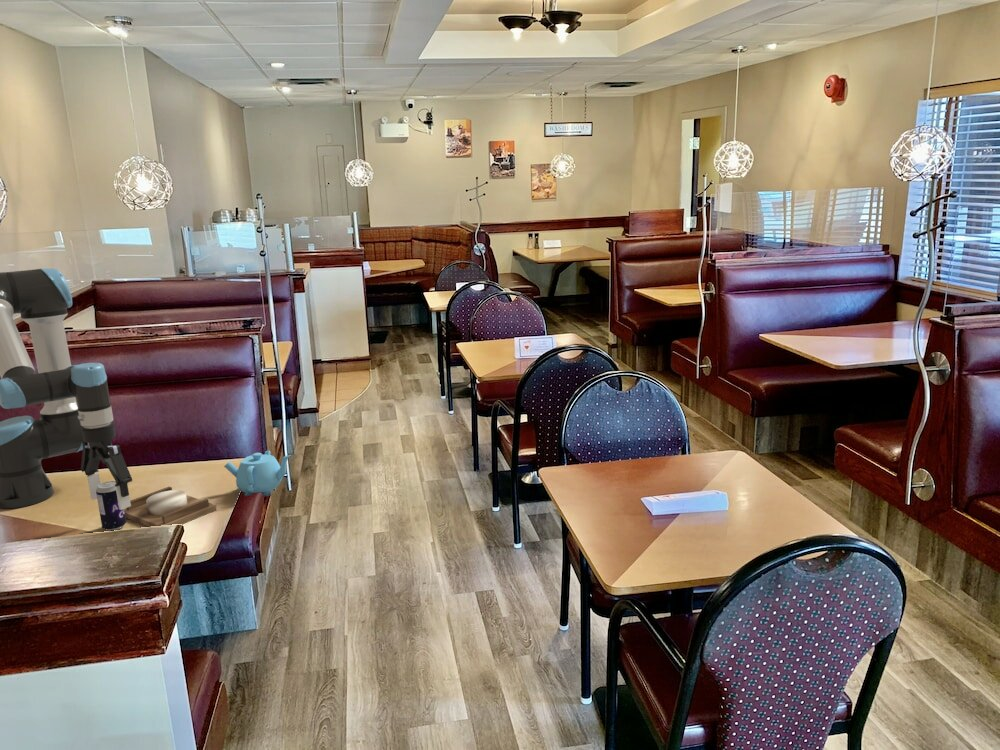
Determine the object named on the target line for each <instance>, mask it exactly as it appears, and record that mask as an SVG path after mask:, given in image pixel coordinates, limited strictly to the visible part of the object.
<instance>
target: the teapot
mask: <svg viewBox="0 0 1000 750" xmlns="http://www.w3.org/2000/svg"><path fill="white" fill-rule="evenodd" d="M271 454H272V453H271V450H266V451H264V454H263V453H261V452H255V453H252V454H251V455H248V456H246V457H244V458H243V459H242V460H241V461H240V462H239V463H240V464H239V465H238V467H237V466H235V465H234V464H233V463H232V462H231V461H228V462H227V463H226V464H225V465H224V468H225V469H226V470H227V471H228V472H230V473H231V474H232V475H233V476H234V478H235V484H236V487H237V488H238V490H239V491H241V492H242V493H244V494H243V496H245V497H249V496H252V495H253V494H258V493H262V496H263V497H264V496H265V497H268V496H271V494H272V493H271V491H274V490H276V489H277V488H278V487H279V485H280V484H281V482H282V480H283V479H284V477H285V476H286V474H287V461H288V459H289V458H290V457H291V456H292V454H288V455H284V456H283V457H282V459H281V461H280V462H281V464H280V463H279V461H278V460H277V458H276V457H275V455H271Z"/></svg>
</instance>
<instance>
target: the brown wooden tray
mask: <svg viewBox="0 0 1000 750" xmlns="http://www.w3.org/2000/svg"><path fill="white" fill-rule="evenodd" d="M130 503H131V506H130V507H128V508H125V509H124V512H125V518H126V519H129V520H130V519H131V520H130V521H133V522H135V521H136V523H139V524H140V525H144V526H146V527H148V526H161V525H172V524H182V525H184V524H186V523H189V522H191V521H193V520H196V519H198V518H200V517H203V516H206V515H209V514H210V513H212V512H216V511H217V505H216V504H215V503H211V502H209V499H208V498H203V499H199V498H196V497H194V496H190V495H188V494H187V493H186V492H185V491H183V490H176V489H174V490H173V488H172V486H167V487H163V488H162V489H158V490H156V491H154V492H150V493H147V494H145V495H141V496H139V497H137V498H134V499H130Z"/></svg>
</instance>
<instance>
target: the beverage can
mask: <svg viewBox="0 0 1000 750" xmlns="http://www.w3.org/2000/svg"><path fill="white" fill-rule="evenodd" d="M100 483H101V484H99V485H98V486H97V490H96V495H97V499H96V500H97V505H98V512H99V518H100V522H101V527H102V529H104V530H106V529H107V530H106V531H107V532H112V531H111V530H115V531H118V530H120V529H122V528H124V525H126V523H127V520H126V519H127V518H125V512H124V509H122V510H120V509H119V504H118V498H117V493H116V487H115V484H116V481H115V480H110V481H104V482H100ZM120 527H122V528H120Z"/></svg>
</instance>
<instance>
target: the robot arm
mask: <svg viewBox="0 0 1000 750" xmlns="http://www.w3.org/2000/svg"><path fill="white" fill-rule="evenodd" d="M71 292H72V291H71V289H70V285H68V281H67V280H66V277H65V276H64V274H63V273H62V272H61V271H60V270H58V269H57V268H36V269H25V270H17V271H16V270H15V271H1V272H0V407H1V408H3V409H5V410H9V409H17V408H18V409H19V408H24V407H29V406H33V405H34V406H35V405H38V404H43V405H44V406H43V407H42V409H41V410H40V411H39V414H40V418H38V419H34V418H33V416H30V415H22V416H15V417H9V418H7V419H4V420H2V421H0V509H18V508H24V507H28V506H32V505H35V504H38V503H41V502H43V501H46V500H48V499H49V498H51V497H52V496H53V495H54V487H53V486H54V485H53V483H52V482H51V480H50V478H49V477H48V475H47V474H46V472H45V471H44V469H43V466H42V460H45V459H49V458H53V457H59V456H63V455H66V454H73V453H79V452H80V451H82V452H81V453H82V455H81V464H80V471H81V472H82V473H84V474H85V476H86V477H87V484H88V488H89V494H90V499H91V500H92V501H94V500H97V495H96V490H97V486H98V485H99V484H101V483H102V482H101V479H100V473H99V472H100V471H99V469H98V468H99V465H100V462H102V464H103V465H106V467H107V468H108V471H109V473H110V474H111V476H112V477H113V479H114V481H116V484H115V487H116V493H117V498H118V504H119V509H120V510H122V509H125V508H128V507H130V506H131V503H130V501H131V497H130V491H129V485H128V483H132V482H133V477H132V475H131V473H130V471H129V468H128V466H127V463H126V461H125V458H124V456H123V454H122V450H121V446H120V445H119V444H116V445H113V442H112V440H114V438H116V436H117V433H116V427H115V423H114V422H113V421H114V415H113V409H112V404H111V398H110V392H109V386H108V376H107V374H106V369H105V365H104V364H102V363H100V362H85V363H80V364H73V365H72V362H71V356H70V351H69V346H68V341H67V335H66V330H65V325H64V324H65V323H64V320H65V318H66V317H67V316H68V315H69V314H68V309H69V308H71V307H72V306H73V297H72V293H71ZM14 314H20V318H21V320H22V322H25V323H26V324H28V325H29V331H30V336H31V342H32V343H31V344H32V347H33V352H34V357H35V363H36V367H37V371H38V373H36V369H35V367H34V365H33V362H32V360H31V357H30V356H29V353H28V351H27V348H26V346H25V344H24V341H23V339H22V337H21V334H20V331H19V330H18V327H17V325H16V322H15V321H14V318H13V316H14Z"/></svg>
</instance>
